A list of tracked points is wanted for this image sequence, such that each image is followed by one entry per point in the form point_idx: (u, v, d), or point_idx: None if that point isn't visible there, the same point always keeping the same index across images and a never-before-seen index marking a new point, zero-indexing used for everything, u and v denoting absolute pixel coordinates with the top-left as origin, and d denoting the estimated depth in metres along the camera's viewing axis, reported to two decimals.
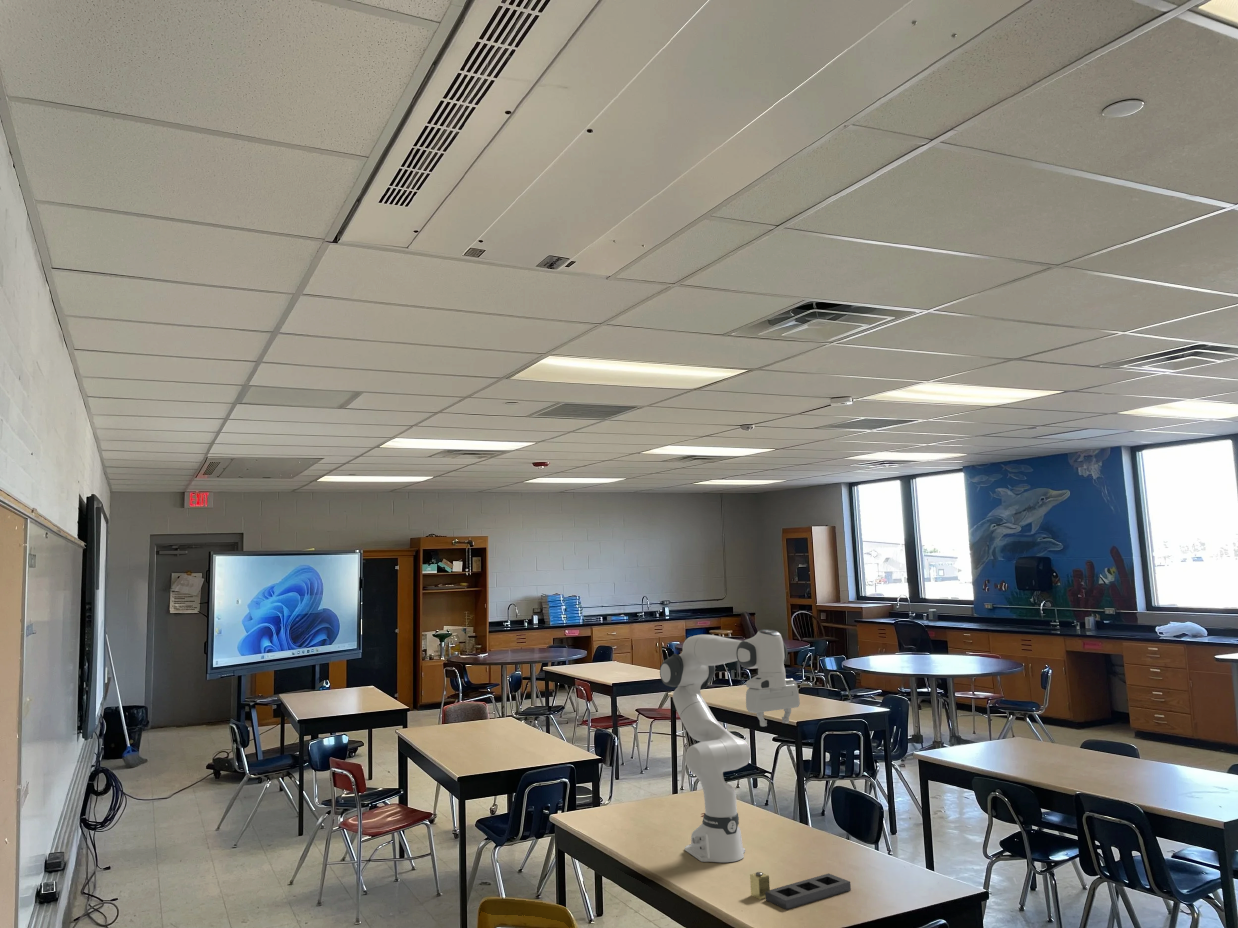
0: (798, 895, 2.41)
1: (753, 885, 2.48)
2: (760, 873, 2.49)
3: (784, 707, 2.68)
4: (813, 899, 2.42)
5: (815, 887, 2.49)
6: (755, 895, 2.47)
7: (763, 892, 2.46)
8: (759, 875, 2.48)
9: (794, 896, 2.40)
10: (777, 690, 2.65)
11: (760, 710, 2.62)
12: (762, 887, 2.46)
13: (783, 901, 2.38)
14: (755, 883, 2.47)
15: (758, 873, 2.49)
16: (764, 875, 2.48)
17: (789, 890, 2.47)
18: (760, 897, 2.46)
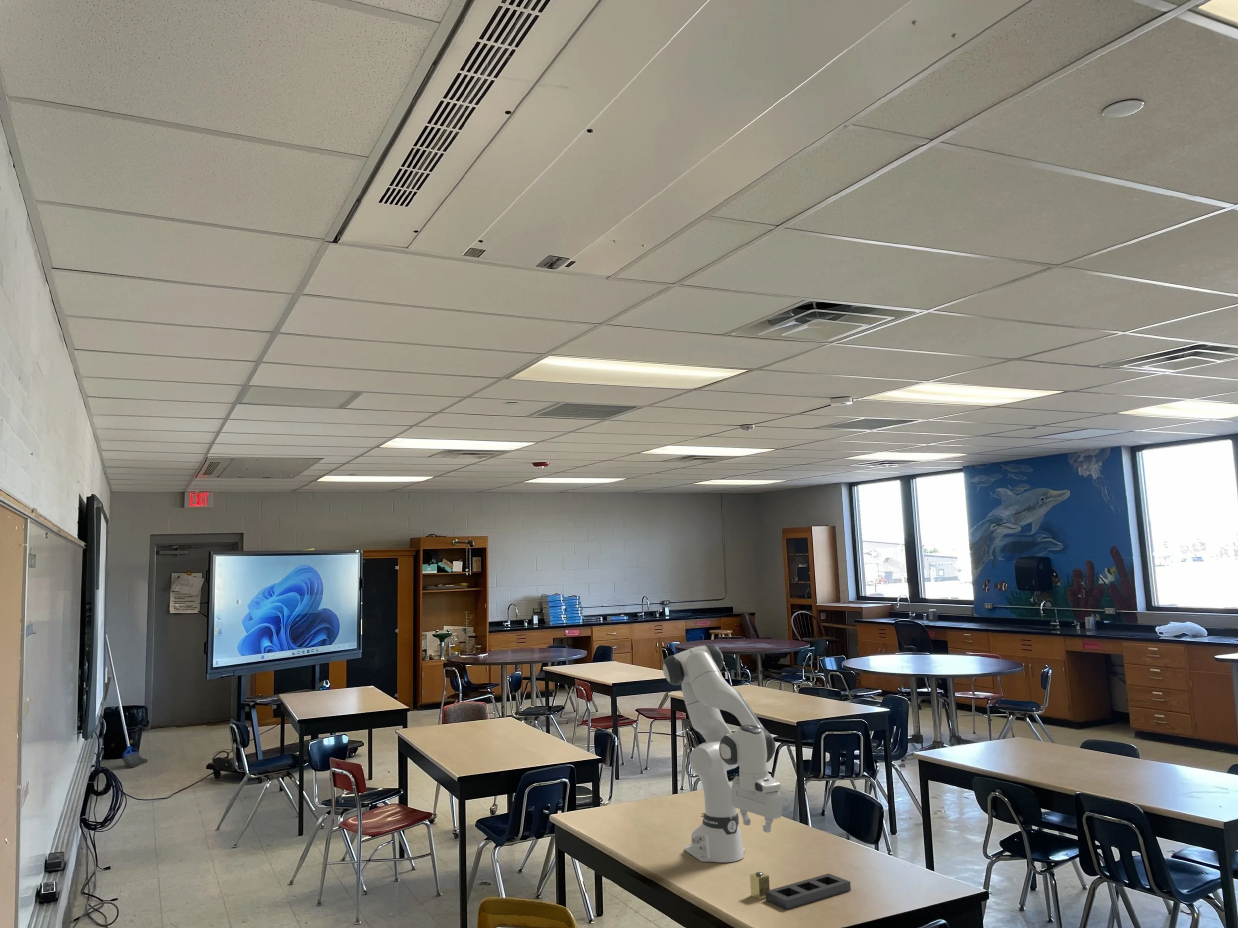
0: (798, 895, 2.41)
1: (753, 885, 2.48)
2: (760, 873, 2.49)
3: None
4: (813, 899, 2.42)
5: (815, 887, 2.49)
6: (755, 895, 2.47)
7: (763, 892, 2.46)
8: (759, 875, 2.48)
9: (794, 896, 2.40)
10: None
11: None
12: (762, 887, 2.46)
13: (783, 901, 2.38)
14: (755, 883, 2.47)
15: (758, 873, 2.49)
16: (764, 875, 2.48)
17: (789, 890, 2.47)
18: (760, 897, 2.46)
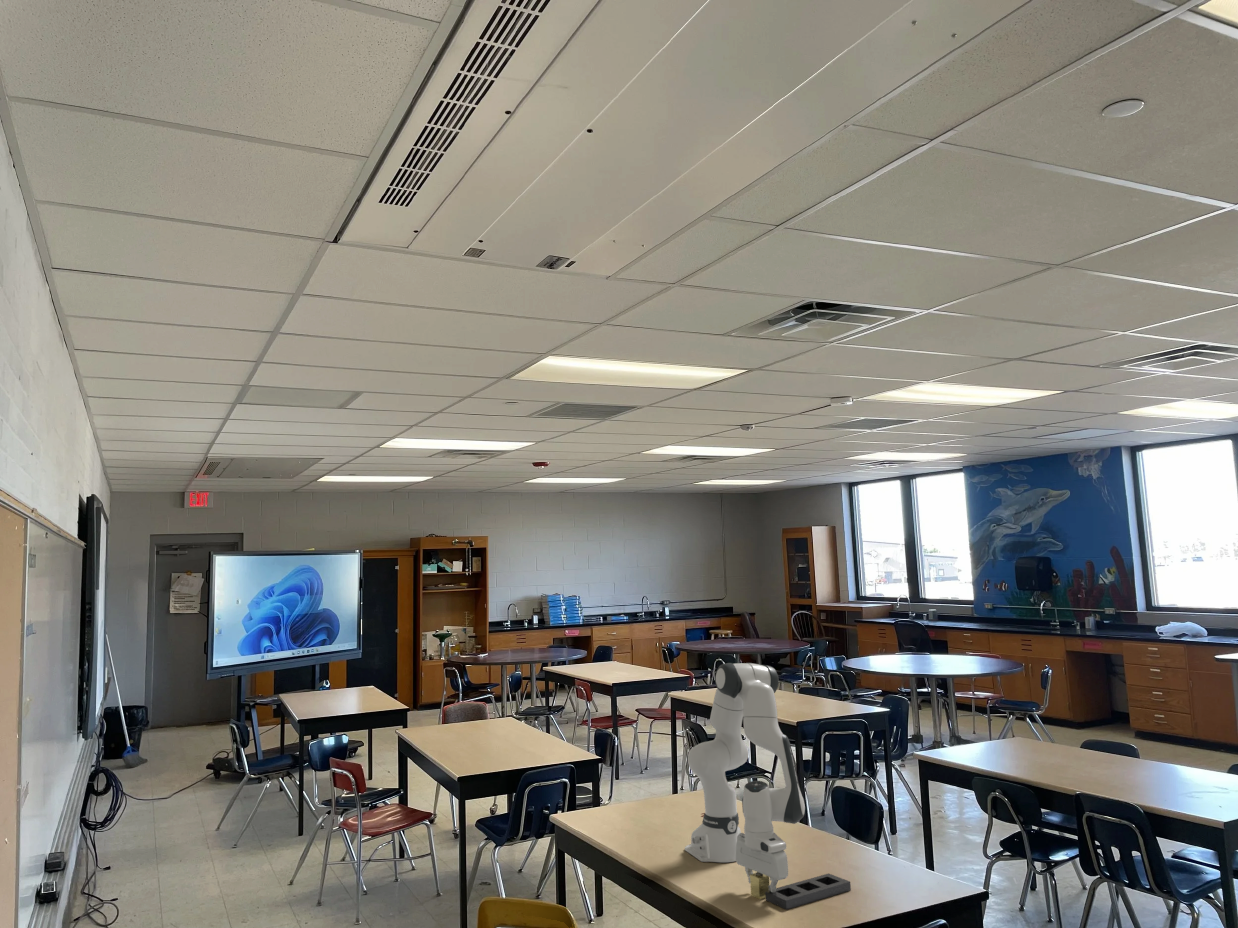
0: (798, 895, 2.41)
1: (753, 885, 2.48)
2: (760, 873, 2.49)
3: None
4: (813, 899, 2.42)
5: (815, 887, 2.49)
6: (755, 895, 2.47)
7: (763, 892, 2.46)
8: (759, 875, 2.48)
9: (794, 896, 2.40)
10: None
11: None
12: (762, 887, 2.46)
13: (783, 901, 2.38)
14: (755, 883, 2.47)
15: (758, 873, 2.49)
16: (764, 875, 2.48)
17: (789, 890, 2.47)
18: (760, 897, 2.46)
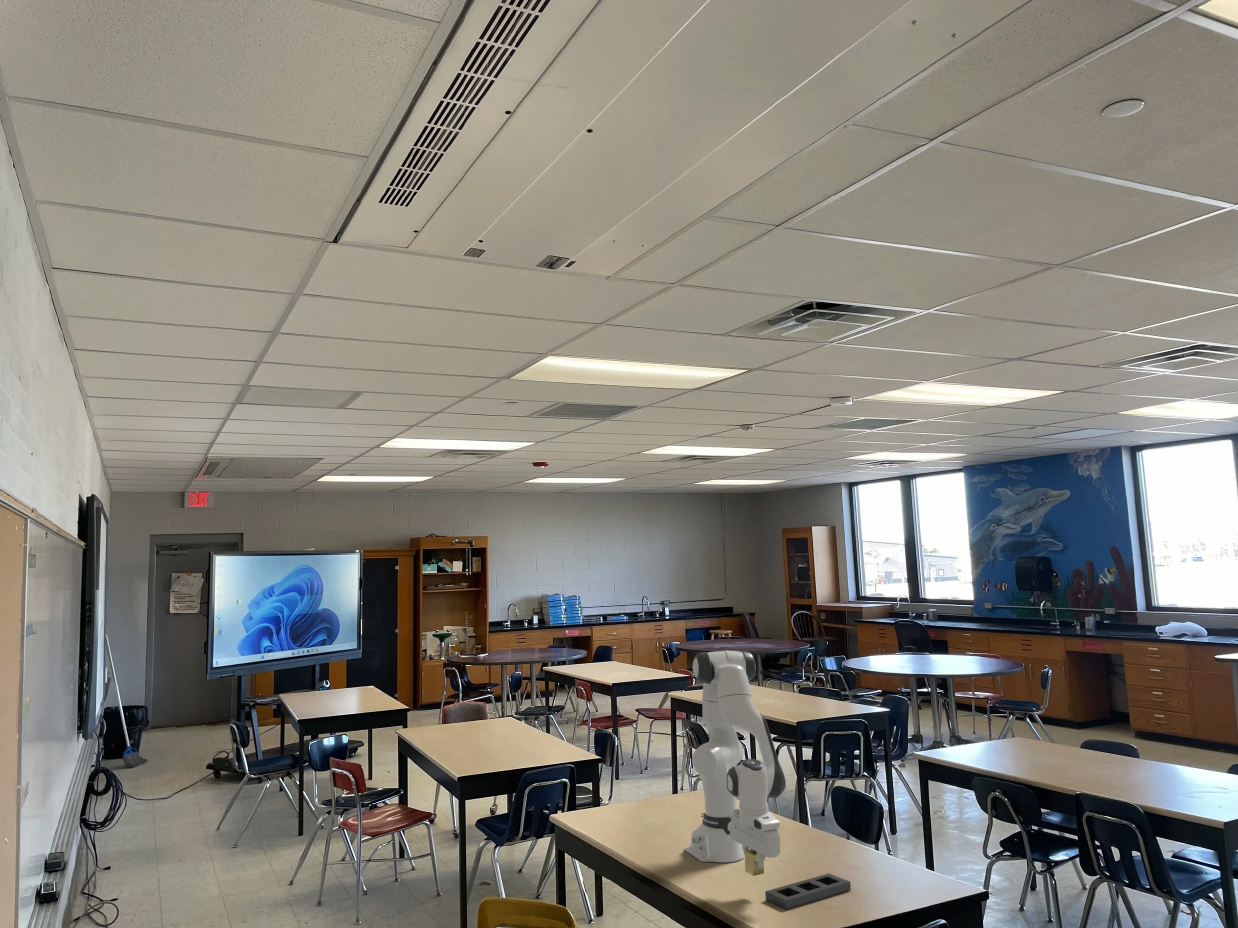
0: (798, 895, 2.41)
1: (747, 862, 2.50)
2: None
3: None
4: (813, 899, 2.42)
5: (815, 887, 2.49)
6: (749, 871, 2.49)
7: (757, 869, 2.48)
8: (754, 852, 2.49)
9: (794, 896, 2.40)
10: None
11: None
12: None
13: (783, 901, 2.38)
14: (750, 860, 2.49)
15: (753, 850, 2.50)
16: None
17: (789, 890, 2.47)
18: (754, 873, 2.47)
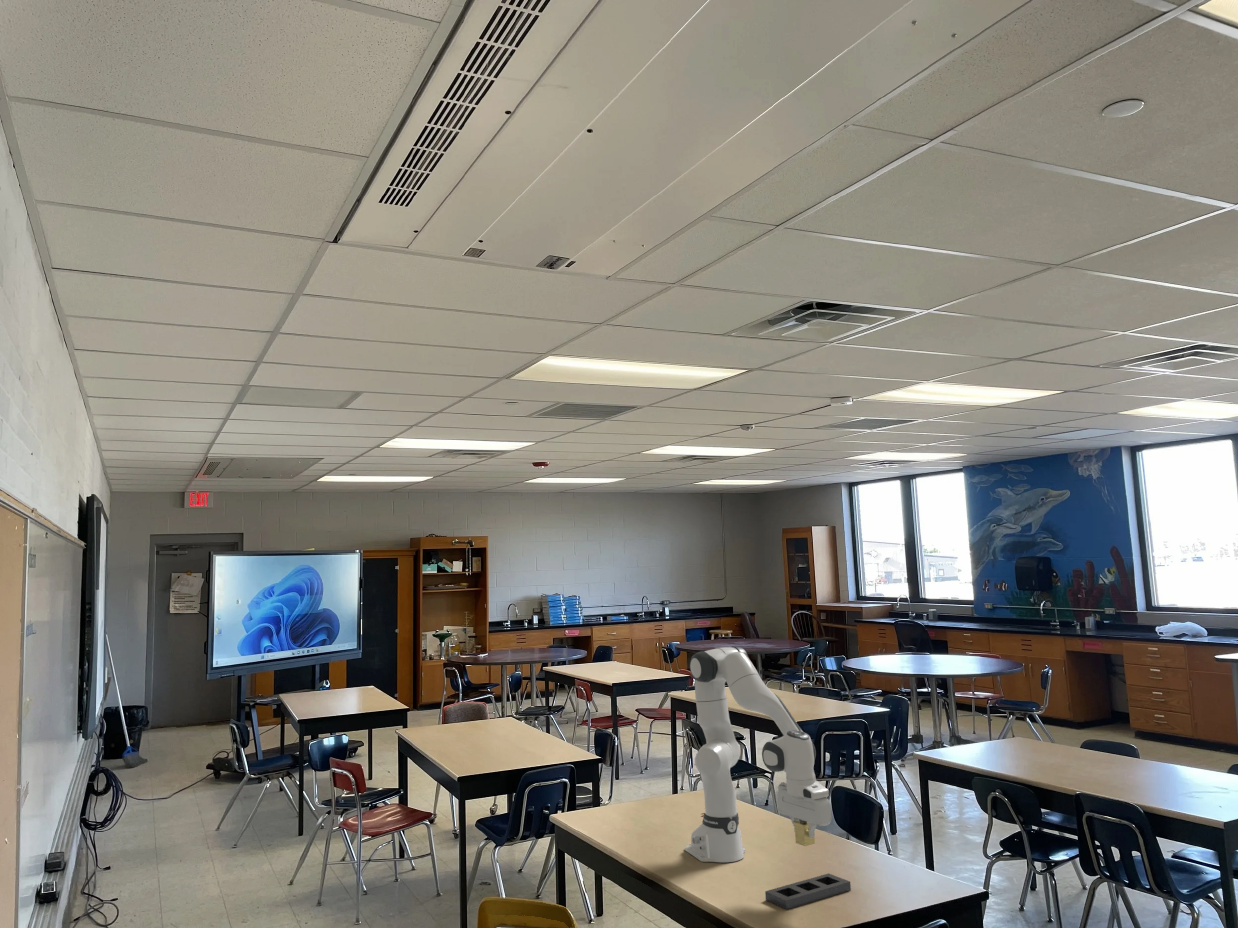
0: (798, 895, 2.41)
1: (797, 833, 2.50)
2: None
3: None
4: (813, 899, 2.42)
5: (815, 887, 2.49)
6: (800, 842, 2.48)
7: (808, 839, 2.48)
8: (803, 822, 2.49)
9: (794, 896, 2.40)
10: None
11: None
12: (806, 834, 2.48)
13: (783, 901, 2.38)
14: (800, 830, 2.49)
15: (802, 820, 2.50)
16: None
17: (789, 890, 2.47)
18: (805, 844, 2.47)
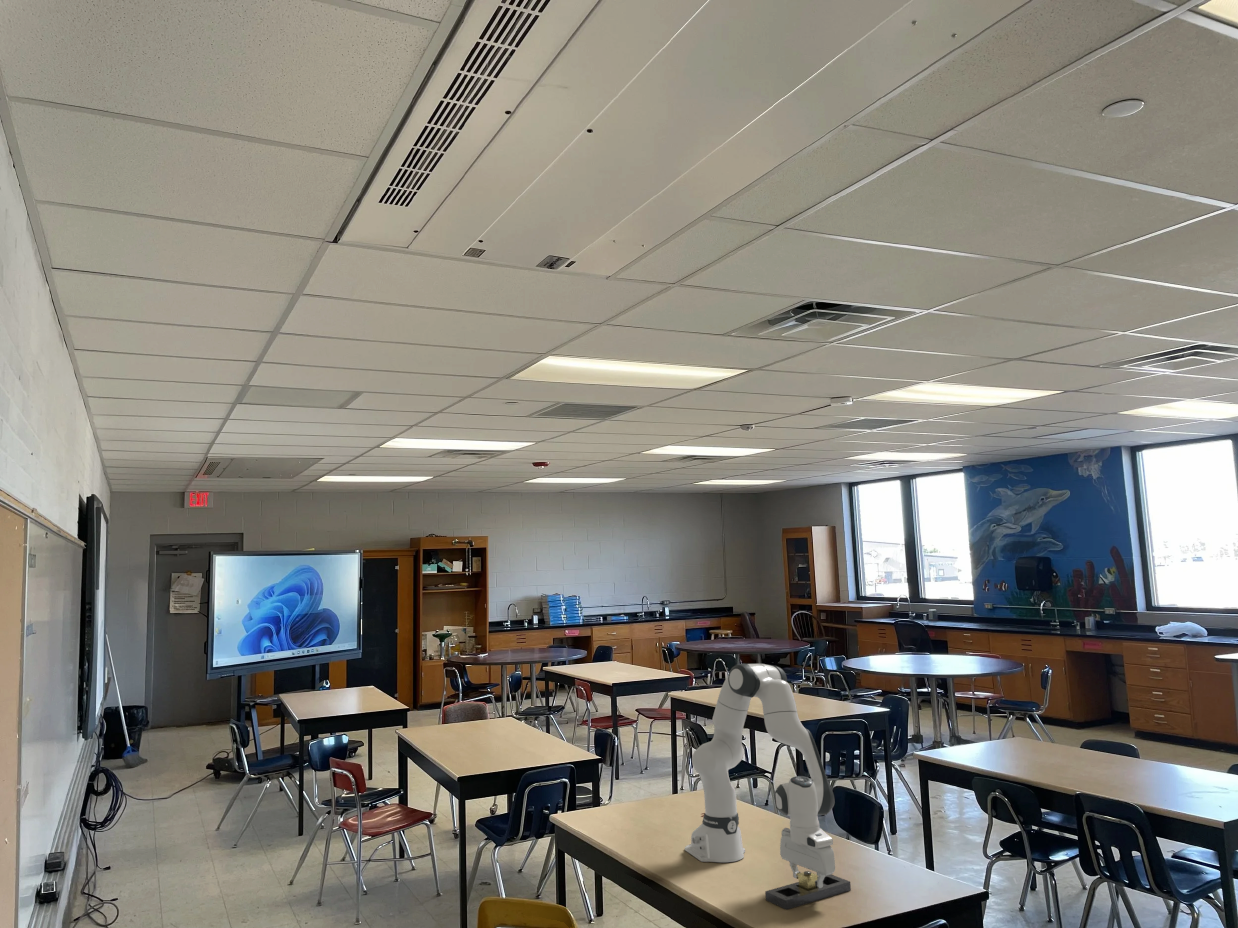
0: (798, 895, 2.41)
1: (801, 884, 2.48)
2: (808, 872, 2.48)
3: None
4: (813, 899, 2.42)
5: None
6: None
7: None
8: (807, 874, 2.47)
9: (794, 896, 2.40)
10: None
11: None
12: (810, 886, 2.46)
13: (783, 901, 2.38)
14: (804, 882, 2.47)
15: (806, 872, 2.48)
16: (812, 874, 2.48)
17: (789, 890, 2.47)
18: None
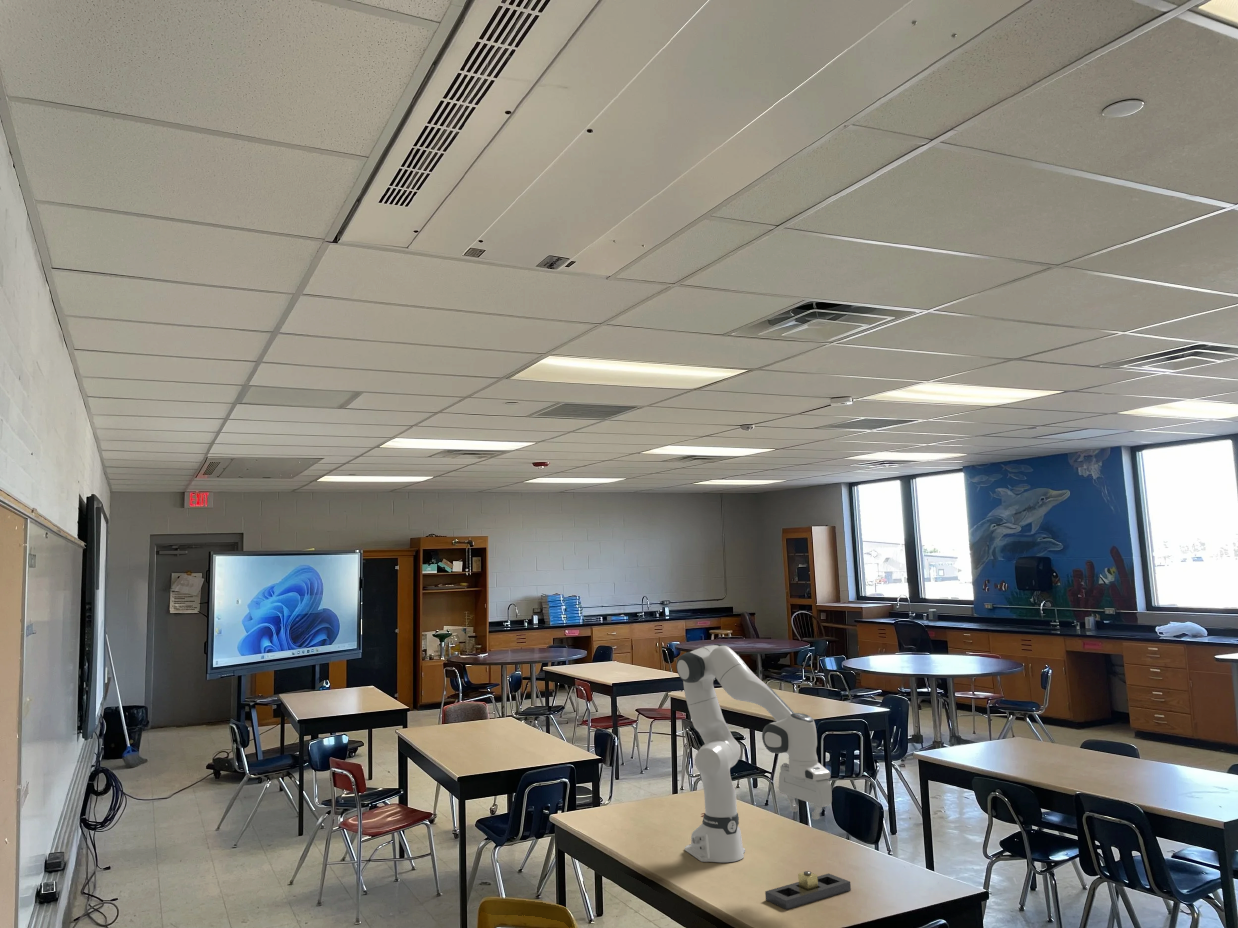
0: (798, 895, 2.41)
1: (801, 884, 2.48)
2: (808, 872, 2.48)
3: None
4: (813, 899, 2.42)
5: None
6: None
7: None
8: (807, 874, 2.47)
9: (794, 896, 2.40)
10: None
11: None
12: (810, 886, 2.46)
13: (783, 901, 2.38)
14: (804, 882, 2.47)
15: (806, 872, 2.48)
16: (812, 874, 2.48)
17: (789, 890, 2.47)
18: None
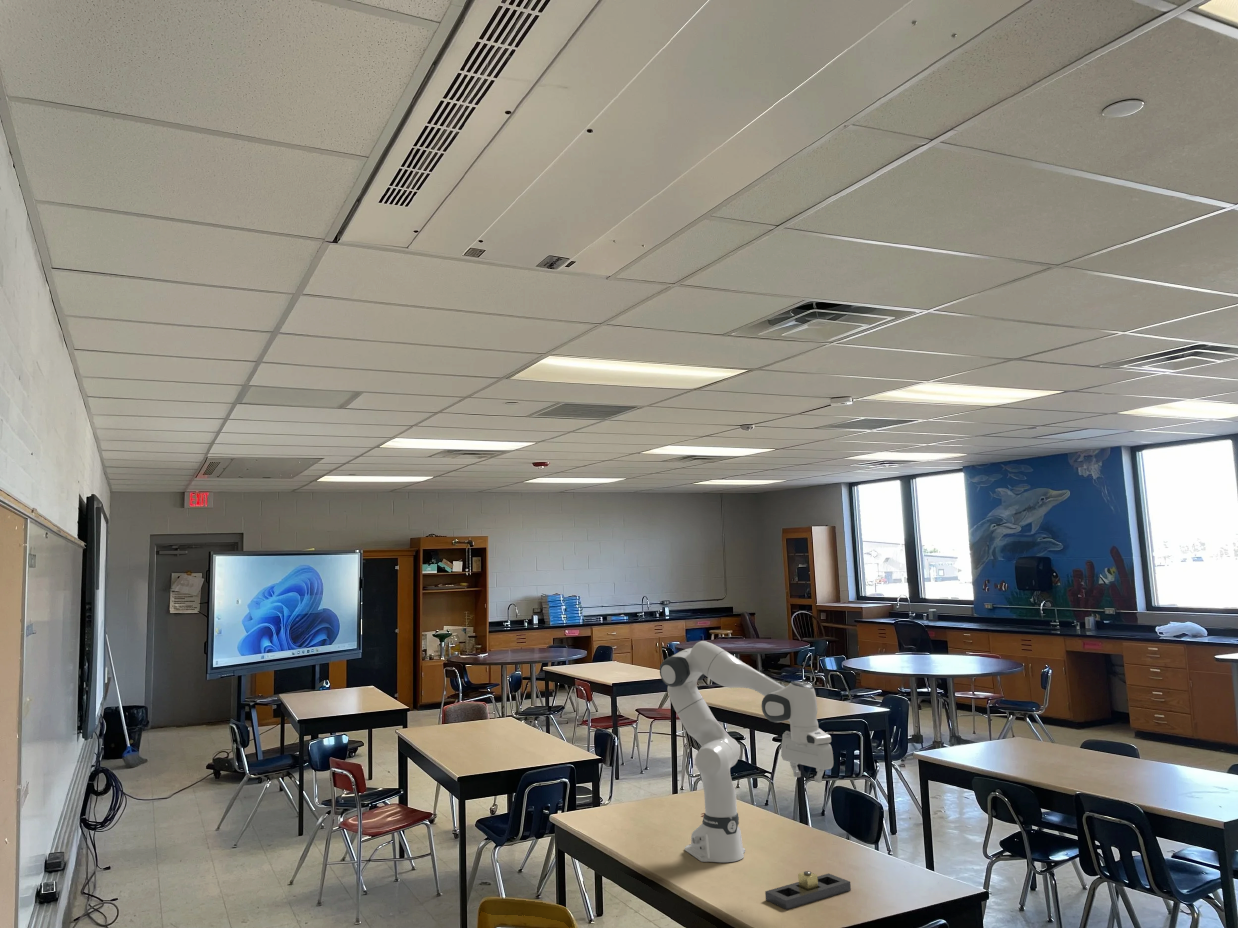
0: (798, 895, 2.41)
1: (801, 884, 2.48)
2: (808, 872, 2.48)
3: None
4: (813, 899, 2.42)
5: None
6: None
7: None
8: (807, 874, 2.47)
9: (794, 896, 2.40)
10: None
11: None
12: (810, 886, 2.46)
13: (783, 901, 2.38)
14: (804, 882, 2.47)
15: (806, 872, 2.48)
16: (812, 874, 2.48)
17: (789, 890, 2.47)
18: None
